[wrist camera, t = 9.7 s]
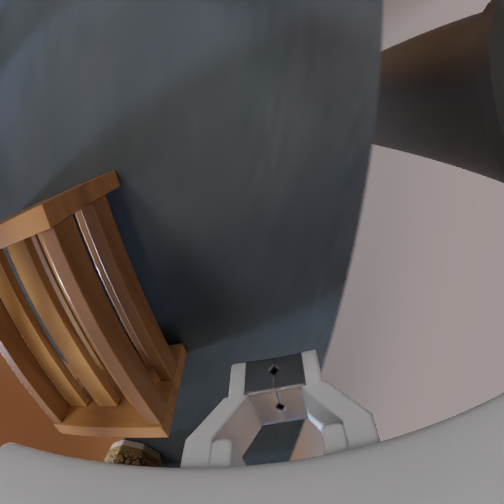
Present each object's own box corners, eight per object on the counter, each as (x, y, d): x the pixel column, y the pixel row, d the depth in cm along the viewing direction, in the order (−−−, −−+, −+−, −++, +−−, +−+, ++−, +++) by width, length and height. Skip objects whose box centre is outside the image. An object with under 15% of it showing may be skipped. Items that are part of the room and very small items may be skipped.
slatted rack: (115, 170, 20) (41, 203, 12) (187, 353, 26) (169, 437, 18) (20, 211, 21) (-53, 254, 13) (95, 364, 27) (61, 433, 19)
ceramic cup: (89, 440, 33) (68, 498, 24) (130, 424, 31) (110, 495, 21) (158, 482, 37) (149, 535, 28) (205, 471, 35) (200, 533, 26)
